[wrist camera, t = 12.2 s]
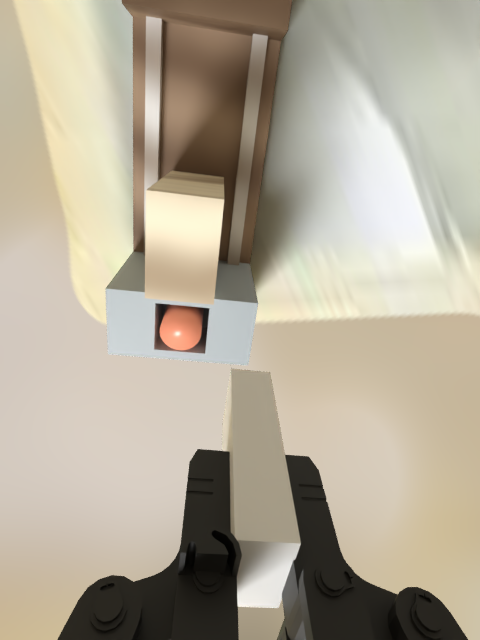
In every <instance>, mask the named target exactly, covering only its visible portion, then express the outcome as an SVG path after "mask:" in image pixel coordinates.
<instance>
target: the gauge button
mask: <svg viewBox="0 0 480 640" xmlns="http://www.w3.org/2000/svg"><path fill="white" fill-rule="evenodd" d="M203 313H204V308H202V307H191V306H180V305H170V304H167V307H166V311H165V314H164V317H163V320H162V323H161V326H160V336H161V339H162V340H163V342H164V343H165V344H166V345H167V346H169V347H170V348H173V349H176V350H187V349H190V348H192V347H194V346H195V345H196V344H197V343H198V342H199V340H200V338H201V331H202V322H203Z"/></svg>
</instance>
